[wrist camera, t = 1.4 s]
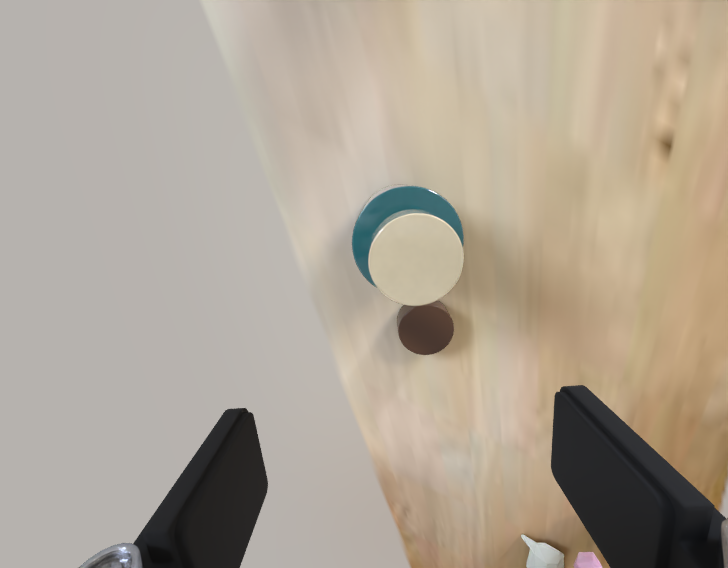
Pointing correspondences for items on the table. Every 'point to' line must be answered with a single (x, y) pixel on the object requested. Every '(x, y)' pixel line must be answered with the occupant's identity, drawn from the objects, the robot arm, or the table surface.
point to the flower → (556, 557)
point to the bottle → (409, 244)
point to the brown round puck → (425, 327)
